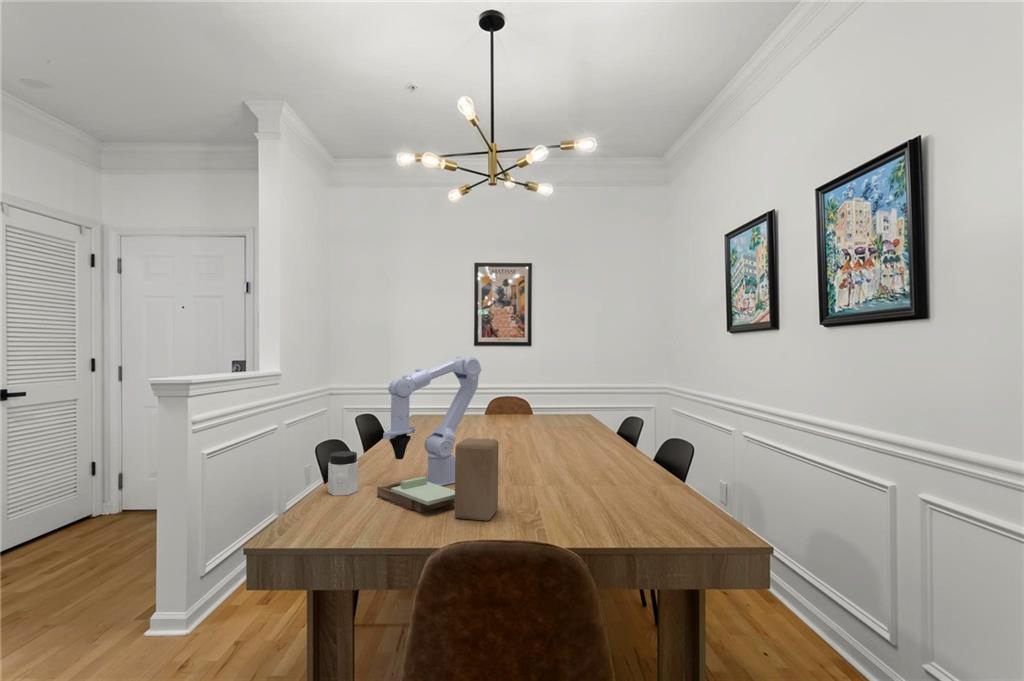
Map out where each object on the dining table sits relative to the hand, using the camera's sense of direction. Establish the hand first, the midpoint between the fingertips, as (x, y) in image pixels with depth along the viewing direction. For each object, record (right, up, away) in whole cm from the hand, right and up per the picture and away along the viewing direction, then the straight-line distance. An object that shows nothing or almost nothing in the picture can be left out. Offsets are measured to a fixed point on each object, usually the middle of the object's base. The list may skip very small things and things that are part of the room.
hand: (399, 458), depth 163 cm
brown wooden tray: (+9, -10, -9) cm, 16 cm away
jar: (-17, -10, -3) cm, 20 cm away
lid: (+11, -7, -15) cm, 20 cm away
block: (+26, -10, -23) cm, 36 cm away
